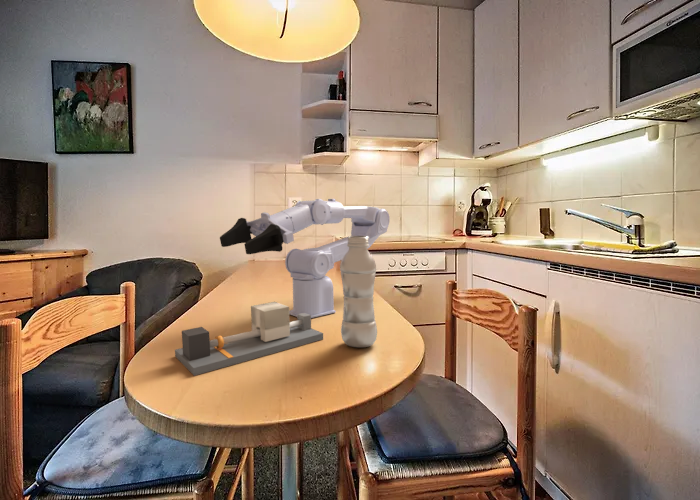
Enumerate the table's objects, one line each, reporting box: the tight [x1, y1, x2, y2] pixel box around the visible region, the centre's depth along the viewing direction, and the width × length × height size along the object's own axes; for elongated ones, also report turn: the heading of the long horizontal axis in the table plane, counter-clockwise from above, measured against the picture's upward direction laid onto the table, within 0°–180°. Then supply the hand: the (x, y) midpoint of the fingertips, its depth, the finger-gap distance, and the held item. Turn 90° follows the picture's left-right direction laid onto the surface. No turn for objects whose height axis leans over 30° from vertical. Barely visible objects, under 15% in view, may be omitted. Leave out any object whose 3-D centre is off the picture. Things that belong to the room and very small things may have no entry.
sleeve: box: [250, 301, 291, 342], centre depth 68 cm, size 5×5×6 cm
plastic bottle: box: [339, 235, 378, 348], centre depth 66 cm, size 6×7×20 cm
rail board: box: [174, 313, 324, 377], centre depth 66 cm, size 24×10×5 cm, turn 130°
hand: (233, 245), depth 71 cm, fingers open, 7 cm apart
